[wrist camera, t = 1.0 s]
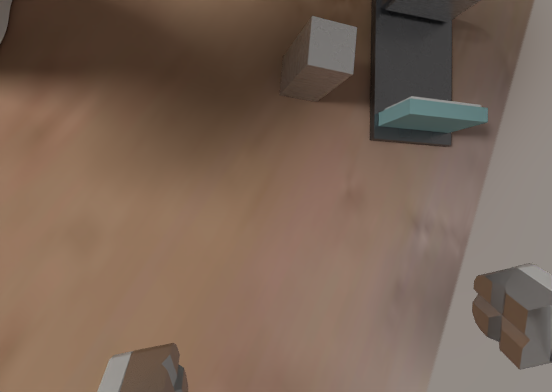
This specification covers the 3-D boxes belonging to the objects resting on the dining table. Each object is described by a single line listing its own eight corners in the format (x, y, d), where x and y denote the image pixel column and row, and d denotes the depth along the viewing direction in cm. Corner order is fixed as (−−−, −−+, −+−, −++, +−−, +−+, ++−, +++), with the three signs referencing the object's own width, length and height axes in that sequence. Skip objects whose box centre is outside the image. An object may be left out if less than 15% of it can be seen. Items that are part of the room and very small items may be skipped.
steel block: (279, 95, 40) (307, 64, 32) (283, 56, 41) (312, 15, 32) (316, 102, 42) (353, 74, 33) (319, 64, 42) (357, 27, 33)
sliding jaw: (448, 133, 45) (487, 122, 39) (378, 126, 42) (409, 113, 37) (448, 117, 45) (487, 104, 39) (378, 109, 42) (410, 94, 37)
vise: (445, 146, 46) (491, 136, 39) (369, 139, 43) (405, 127, 37) (446, 10, 47) (491, -23, 40) (371, -5, 44) (407, -44, 37)
